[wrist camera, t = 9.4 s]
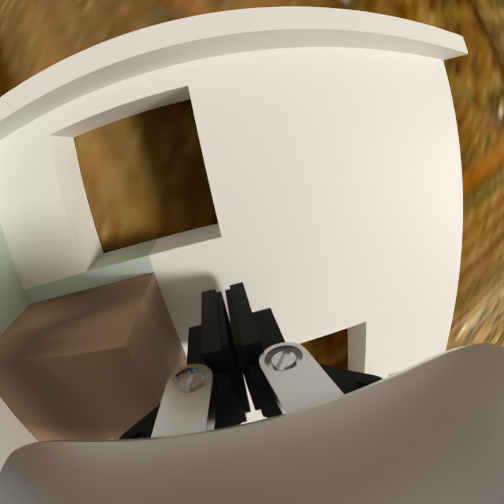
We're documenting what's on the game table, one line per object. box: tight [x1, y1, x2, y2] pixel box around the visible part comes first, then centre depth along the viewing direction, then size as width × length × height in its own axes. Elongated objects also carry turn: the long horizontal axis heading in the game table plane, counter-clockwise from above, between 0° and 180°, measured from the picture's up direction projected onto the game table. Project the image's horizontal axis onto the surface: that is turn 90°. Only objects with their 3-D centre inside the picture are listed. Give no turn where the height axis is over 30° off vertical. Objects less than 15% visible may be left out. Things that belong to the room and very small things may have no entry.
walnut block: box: [0, 272, 187, 442], centre depth 9 cm, size 7×5×5 cm
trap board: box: [0, 7, 468, 424], centre depth 12 cm, size 24×22×6 cm
